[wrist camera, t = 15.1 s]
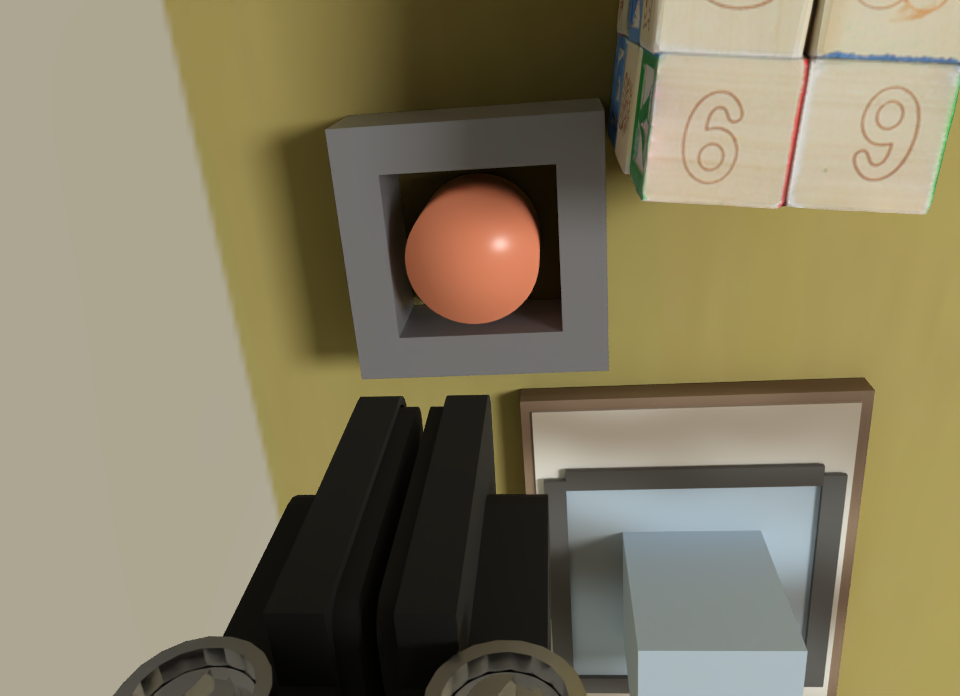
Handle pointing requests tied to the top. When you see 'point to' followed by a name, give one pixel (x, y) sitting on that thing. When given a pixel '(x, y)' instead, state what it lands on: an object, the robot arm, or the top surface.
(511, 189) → the button
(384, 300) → the button housing
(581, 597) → the picture board
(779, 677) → the blue block
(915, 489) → the top surface
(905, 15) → the stack of blocks
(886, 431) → the top surface
